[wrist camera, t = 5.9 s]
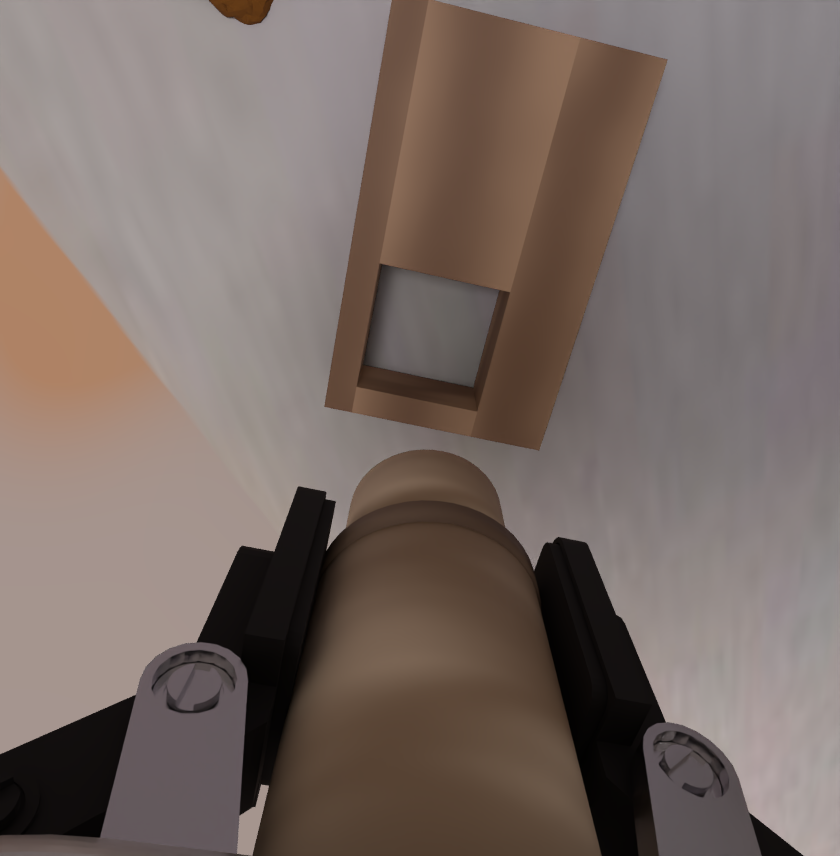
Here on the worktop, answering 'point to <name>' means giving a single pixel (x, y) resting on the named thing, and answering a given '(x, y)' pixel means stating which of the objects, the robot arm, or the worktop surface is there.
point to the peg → (426, 687)
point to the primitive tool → (244, 9)
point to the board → (489, 204)
